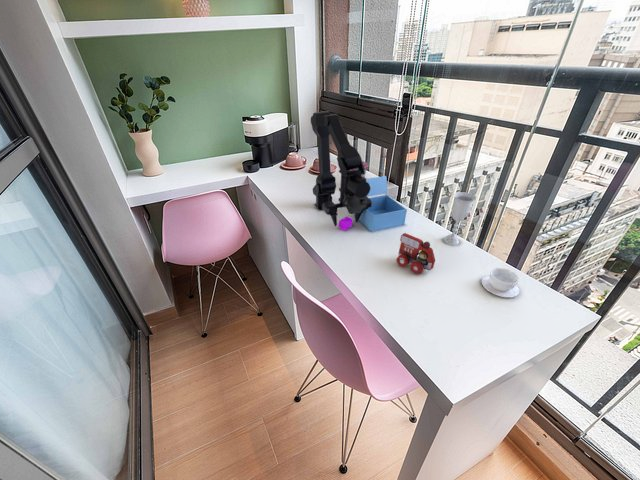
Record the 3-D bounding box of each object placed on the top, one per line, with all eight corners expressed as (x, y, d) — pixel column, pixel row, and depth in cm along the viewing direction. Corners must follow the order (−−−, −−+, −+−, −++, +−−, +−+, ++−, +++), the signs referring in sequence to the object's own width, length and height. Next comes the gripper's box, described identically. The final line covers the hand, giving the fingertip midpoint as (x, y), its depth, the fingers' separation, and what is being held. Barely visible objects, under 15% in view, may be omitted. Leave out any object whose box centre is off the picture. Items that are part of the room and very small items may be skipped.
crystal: (350, 231, 121) (351, 221, 118) (337, 229, 122) (337, 219, 120) (353, 225, 125) (353, 215, 122) (340, 223, 126) (340, 213, 124)
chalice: (446, 234, 118) (459, 190, 107) (464, 240, 114) (479, 195, 103) (438, 241, 113) (450, 196, 103) (456, 248, 109) (470, 202, 99)
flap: (355, 198, 127) (355, 198, 128) (387, 193, 131) (386, 193, 131) (354, 180, 125) (354, 180, 126) (386, 175, 129) (385, 175, 129)
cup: (365, 191, 152) (367, 167, 145) (348, 190, 153) (349, 167, 146) (365, 184, 159) (368, 161, 152) (349, 183, 161) (351, 160, 154)
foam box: (354, 215, 132) (355, 200, 128) (384, 209, 136) (387, 194, 132) (371, 231, 120) (373, 216, 116) (404, 225, 124) (407, 209, 120)
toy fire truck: (425, 278, 96) (432, 252, 90) (391, 262, 104) (396, 236, 98) (435, 269, 100) (443, 242, 94) (402, 254, 108) (407, 228, 102)
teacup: (502, 302, 87) (508, 290, 84) (473, 282, 95) (478, 270, 92) (526, 292, 90) (533, 280, 87) (497, 273, 98) (502, 261, 95)
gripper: (333, 200, 105) (332, 238, 114) (381, 191, 110) (376, 229, 119) (321, 188, 114) (321, 224, 123) (366, 180, 118) (363, 216, 127)
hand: (345, 223), depth 123 cm, fingers open, 9 cm apart
